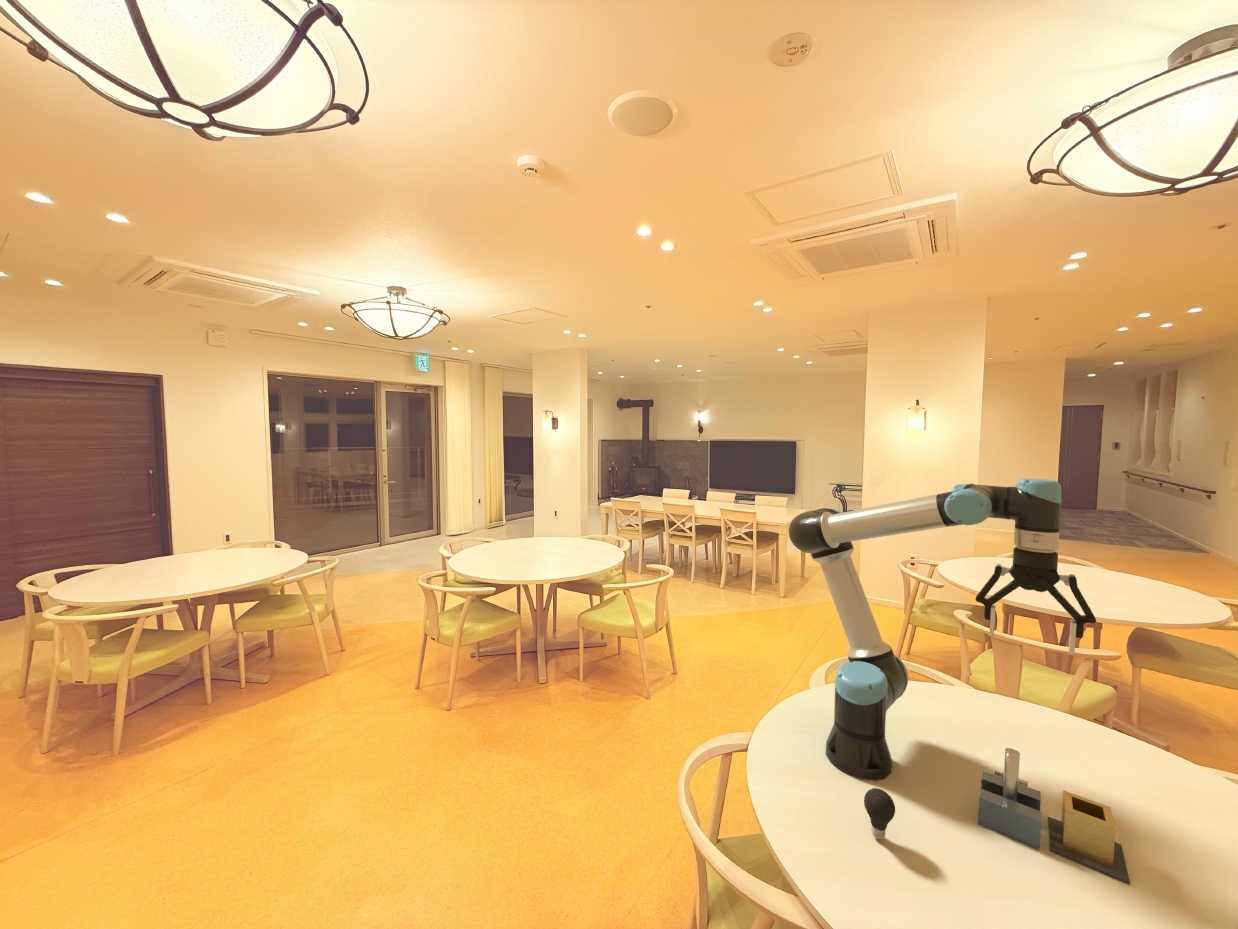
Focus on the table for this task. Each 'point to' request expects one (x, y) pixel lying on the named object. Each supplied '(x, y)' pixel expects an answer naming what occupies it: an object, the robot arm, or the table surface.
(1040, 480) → the robot arm
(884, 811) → the light bulb
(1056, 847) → the mat
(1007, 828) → the vise
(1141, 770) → the table surface
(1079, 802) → the open wooden box
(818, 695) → the table surface
